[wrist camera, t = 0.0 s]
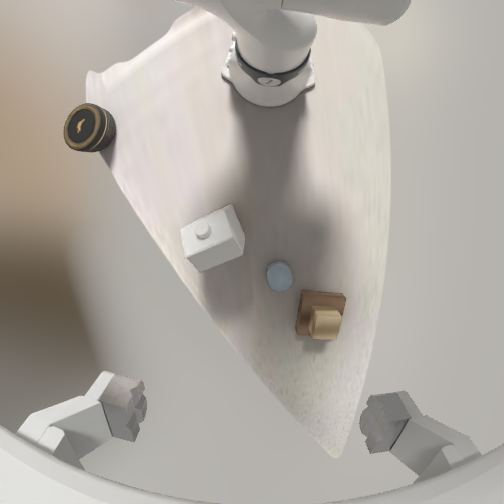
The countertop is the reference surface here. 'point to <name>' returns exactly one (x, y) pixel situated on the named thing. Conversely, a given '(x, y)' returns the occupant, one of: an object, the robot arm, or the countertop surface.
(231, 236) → the milk carton
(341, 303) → the walnut pedestal
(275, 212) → the countertop surface
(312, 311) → the oak cube
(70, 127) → the jar
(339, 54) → the countertop surface
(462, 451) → the robot arm
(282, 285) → the ceramic cylinder
